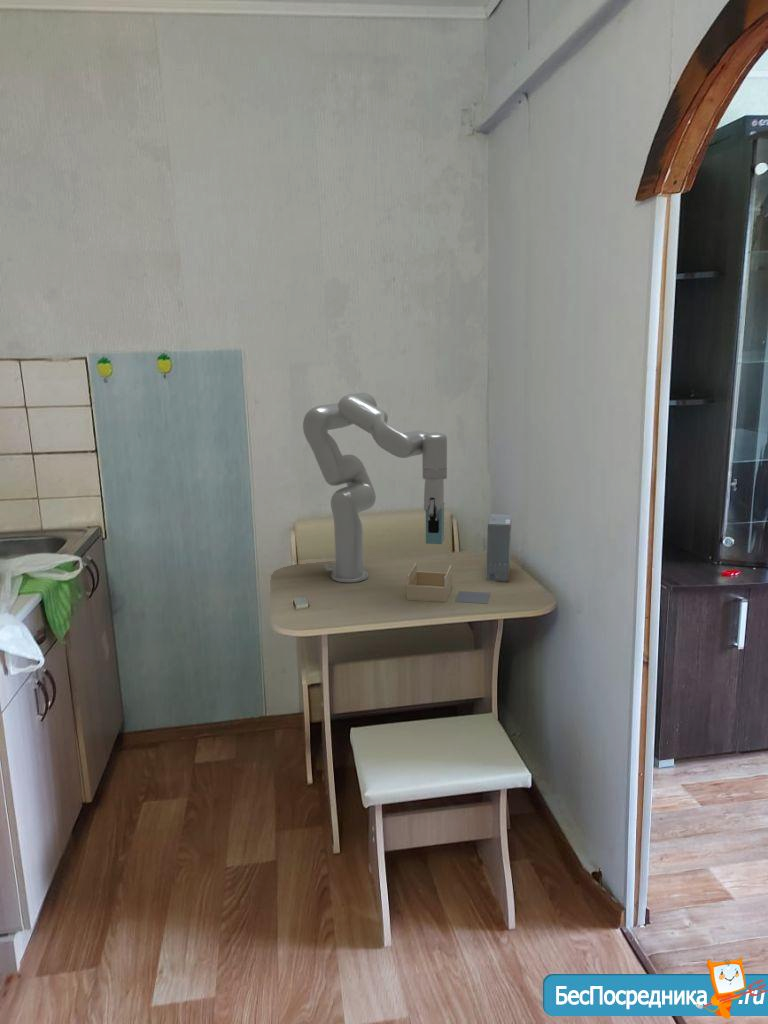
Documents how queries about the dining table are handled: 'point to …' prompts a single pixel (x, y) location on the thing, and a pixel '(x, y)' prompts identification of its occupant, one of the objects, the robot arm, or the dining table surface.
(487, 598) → the mat
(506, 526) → the hard drive box
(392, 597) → the dining table surface
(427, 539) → the tin
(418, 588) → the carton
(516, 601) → the dining table surface
